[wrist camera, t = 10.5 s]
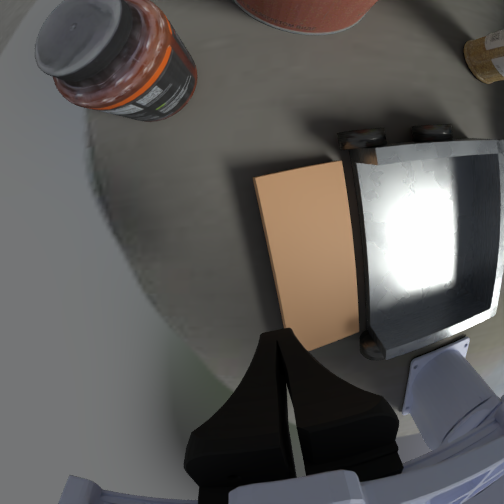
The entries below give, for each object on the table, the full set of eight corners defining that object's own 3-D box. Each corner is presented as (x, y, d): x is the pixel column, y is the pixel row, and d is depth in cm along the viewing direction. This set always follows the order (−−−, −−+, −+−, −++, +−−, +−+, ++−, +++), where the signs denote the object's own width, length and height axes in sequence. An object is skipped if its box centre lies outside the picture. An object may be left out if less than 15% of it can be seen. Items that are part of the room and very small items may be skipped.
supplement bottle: (141, 39, 16) (64, -33, 5) (213, 60, 17) (181, -30, 6) (106, 110, 17) (-2, 88, 7) (176, 135, 18) (97, 116, 8)
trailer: (467, 303, 23) (492, 325, 19) (355, 342, 24) (372, 374, 20) (466, 125, 18) (501, 125, 14) (331, 134, 18) (353, 129, 14)
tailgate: (359, 331, 22) (291, 357, 22) (354, 326, 23) (288, 351, 22) (341, 160, 18) (255, 177, 17) (335, 160, 19) (252, 177, 18)
